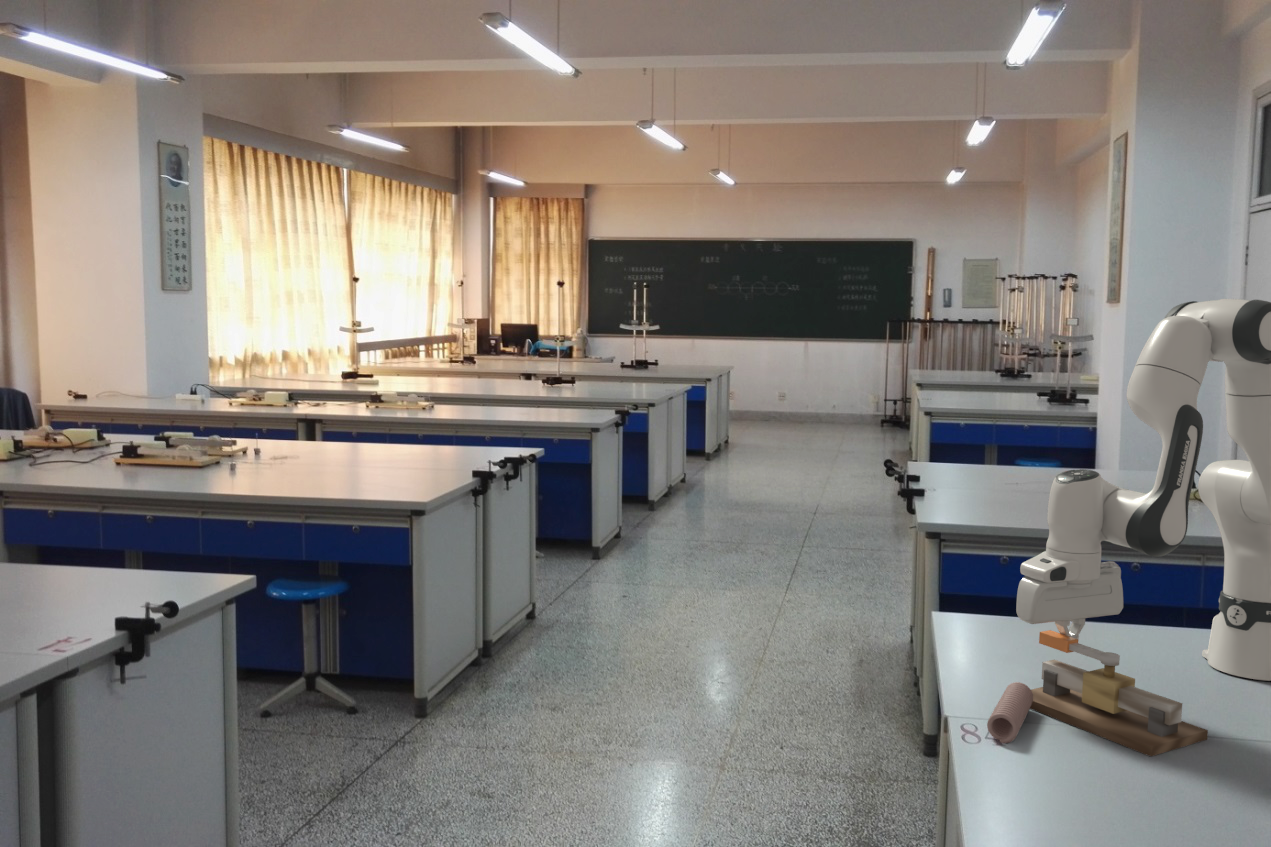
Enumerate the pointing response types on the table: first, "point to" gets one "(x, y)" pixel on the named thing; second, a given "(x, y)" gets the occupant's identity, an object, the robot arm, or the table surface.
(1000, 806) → the table surface
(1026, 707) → the coil
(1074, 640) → the valve lever
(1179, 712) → the valve stand
